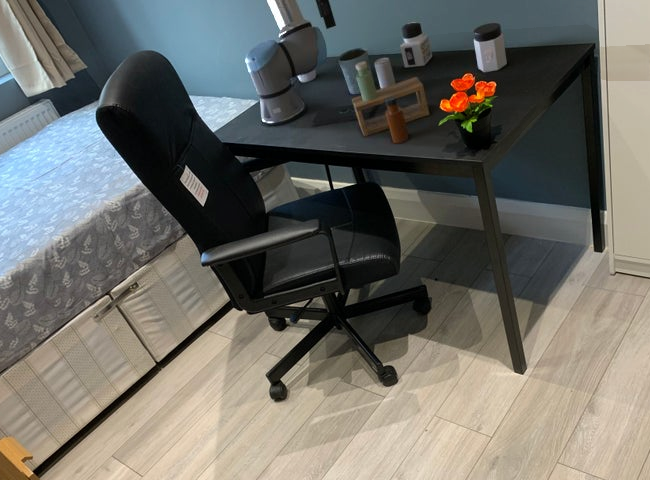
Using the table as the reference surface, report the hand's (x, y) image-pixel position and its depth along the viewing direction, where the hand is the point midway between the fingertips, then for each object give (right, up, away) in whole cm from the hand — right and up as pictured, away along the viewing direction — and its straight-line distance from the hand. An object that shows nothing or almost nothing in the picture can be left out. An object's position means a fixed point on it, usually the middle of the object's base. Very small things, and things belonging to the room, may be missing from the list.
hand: (328, 21), depth 173 cm
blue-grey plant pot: (+9, -5, +41) cm, 42 cm away
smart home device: (+4, -18, +26) cm, 33 cm away
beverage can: (+18, -12, +28) cm, 36 cm away
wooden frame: (+19, -24, +13) cm, 33 cm away
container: (+29, +6, +46) cm, 54 cm away
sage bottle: (+12, -19, +8) cm, 23 cm away
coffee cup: (-12, +7, +64) cm, 66 cm away
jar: (+50, -3, +25) cm, 56 cm away
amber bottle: (+20, -32, +2) cm, 38 cm away
